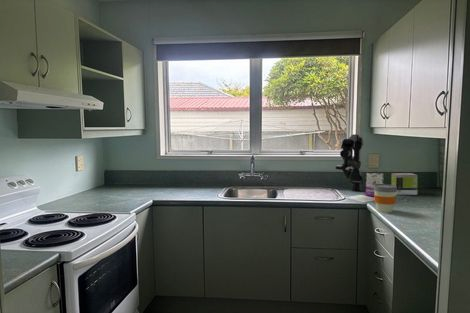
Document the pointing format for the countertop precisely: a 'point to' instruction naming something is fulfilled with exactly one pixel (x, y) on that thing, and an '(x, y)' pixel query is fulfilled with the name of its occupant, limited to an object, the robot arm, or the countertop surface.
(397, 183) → the tea box
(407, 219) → the countertop surface
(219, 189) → the countertop surface
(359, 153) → the robot arm
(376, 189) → the reusable coffee cup
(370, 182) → the candy bar box
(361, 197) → the mat
